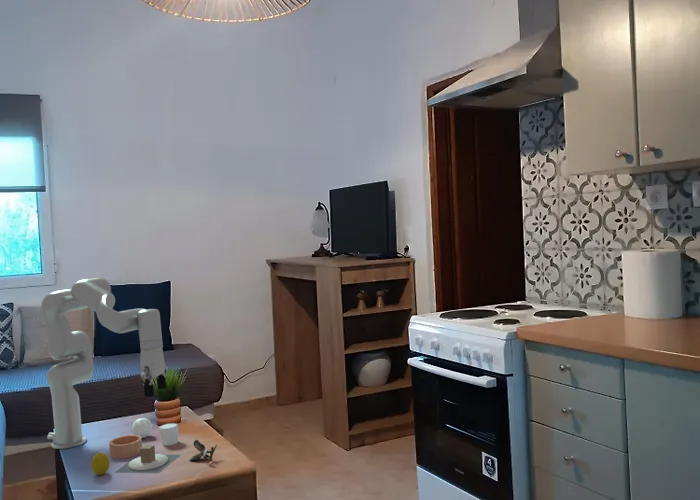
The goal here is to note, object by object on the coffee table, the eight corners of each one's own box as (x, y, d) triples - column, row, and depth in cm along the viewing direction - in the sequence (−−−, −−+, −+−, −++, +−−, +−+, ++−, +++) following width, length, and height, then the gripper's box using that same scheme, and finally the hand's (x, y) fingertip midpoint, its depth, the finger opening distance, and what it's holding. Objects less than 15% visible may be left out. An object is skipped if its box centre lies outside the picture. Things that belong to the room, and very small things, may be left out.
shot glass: (182, 440, 242) (180, 422, 242) (175, 447, 235) (174, 428, 235) (164, 441, 243) (163, 423, 242) (157, 447, 236) (156, 429, 236)
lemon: (95, 473, 214) (93, 450, 214) (112, 471, 215) (110, 448, 214) (90, 480, 209) (88, 456, 208) (107, 478, 209) (105, 454, 209)
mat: (114, 473, 213) (114, 472, 213) (139, 455, 228) (138, 454, 228) (159, 474, 210) (158, 472, 210) (180, 456, 225) (180, 454, 225)
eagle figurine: (218, 451, 225) (195, 446, 226) (216, 439, 220) (191, 434, 222) (210, 470, 219) (185, 464, 220) (206, 457, 214) (182, 452, 216)
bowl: (104, 459, 227) (103, 445, 227) (120, 448, 238) (119, 434, 238) (132, 459, 225) (131, 445, 225) (148, 448, 236) (147, 435, 236)
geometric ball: (139, 443, 250) (137, 424, 254) (157, 435, 249) (154, 416, 253) (128, 440, 244) (125, 420, 248) (146, 432, 243) (143, 412, 247)
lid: (121, 470, 214) (119, 453, 214) (140, 456, 227) (139, 440, 226) (156, 471, 211) (155, 453, 211) (174, 456, 224) (173, 440, 224)
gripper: (152, 340, 233) (157, 386, 234) (129, 350, 216) (134, 399, 217) (172, 339, 232) (176, 385, 233) (149, 348, 215) (154, 399, 216)
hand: (155, 392), depth 225 cm, fingers open, 9 cm apart
